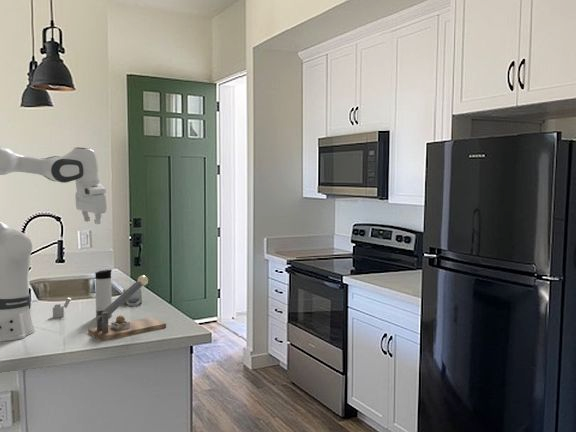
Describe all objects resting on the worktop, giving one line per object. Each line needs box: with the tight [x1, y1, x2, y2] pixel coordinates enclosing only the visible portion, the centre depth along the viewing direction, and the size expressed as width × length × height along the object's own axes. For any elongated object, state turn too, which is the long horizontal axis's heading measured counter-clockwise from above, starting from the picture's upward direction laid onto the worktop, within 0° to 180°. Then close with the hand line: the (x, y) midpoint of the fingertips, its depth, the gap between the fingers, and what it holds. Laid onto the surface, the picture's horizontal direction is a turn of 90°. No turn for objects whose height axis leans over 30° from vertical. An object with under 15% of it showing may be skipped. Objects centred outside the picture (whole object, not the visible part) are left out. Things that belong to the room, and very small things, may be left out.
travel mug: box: [94, 269, 113, 319], centre depth 219 cm, size 6×7×20 cm
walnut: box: [115, 315, 126, 324], centre depth 199 cm, size 3×3×3 cm
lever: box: [96, 275, 149, 322], centre depth 199 cm, size 24×4×4 cm
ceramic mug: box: [122, 287, 143, 307], centre depth 243 cm, size 11×8×8 cm
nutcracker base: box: [87, 310, 167, 341], centre depth 201 cm, size 26×12×9 cm, turn 133°
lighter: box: [52, 297, 72, 319], centre depth 219 cm, size 7×2×8 cm, turn 110°
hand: (92, 222), depth 210 cm, fingers open, 8 cm apart
